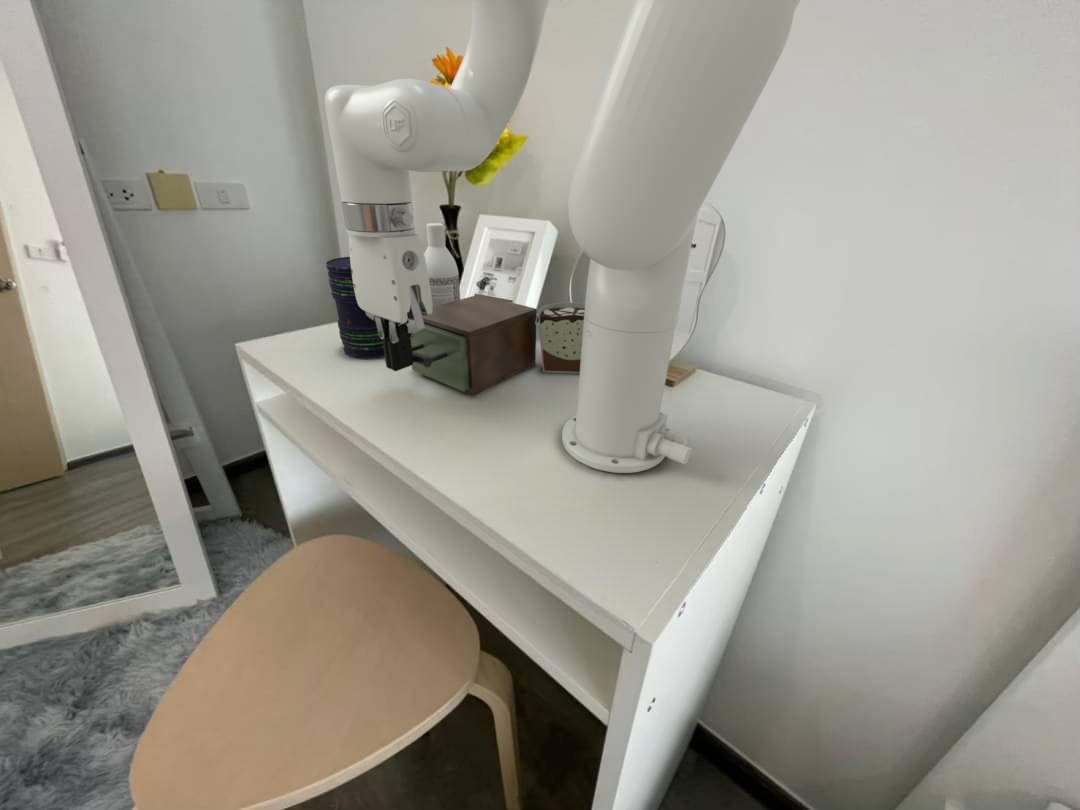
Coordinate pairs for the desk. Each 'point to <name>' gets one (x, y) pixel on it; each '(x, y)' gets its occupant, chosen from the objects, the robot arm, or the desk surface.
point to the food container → (561, 336)
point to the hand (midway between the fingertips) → (400, 366)
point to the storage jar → (352, 314)
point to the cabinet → (490, 337)
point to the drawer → (441, 356)
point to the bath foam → (441, 267)
